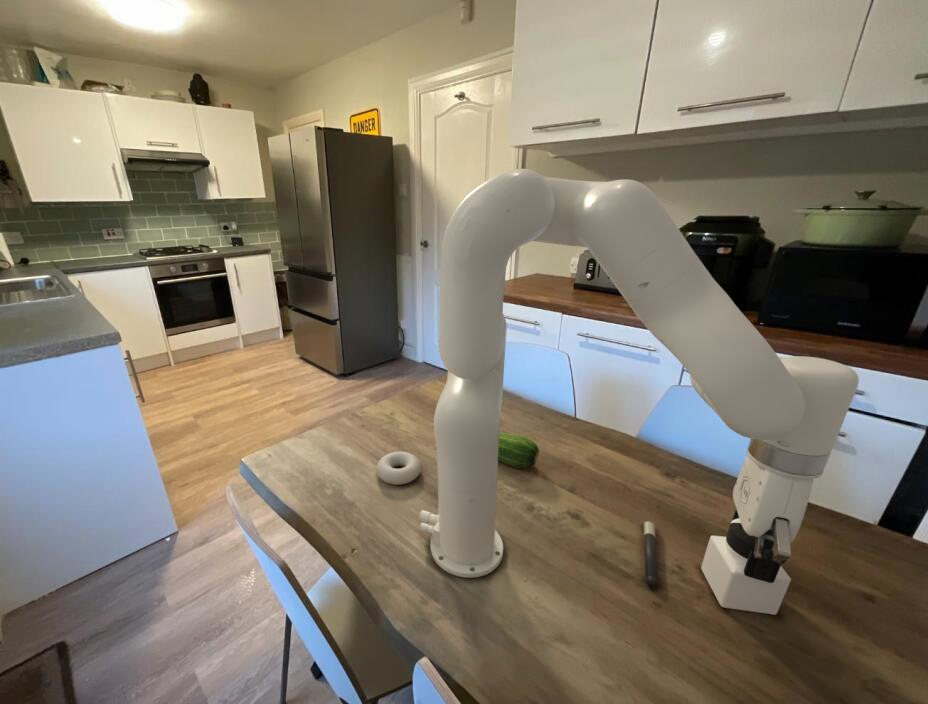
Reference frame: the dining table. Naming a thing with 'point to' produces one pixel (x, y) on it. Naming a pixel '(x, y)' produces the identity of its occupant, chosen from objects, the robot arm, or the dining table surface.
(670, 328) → the robot arm
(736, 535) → the white block black top
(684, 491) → the dining table surface
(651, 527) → the marker
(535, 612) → the dining table surface
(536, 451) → the vegetable
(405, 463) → the donut
